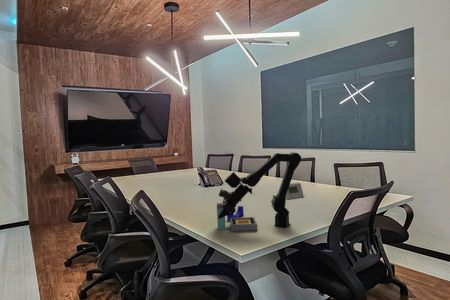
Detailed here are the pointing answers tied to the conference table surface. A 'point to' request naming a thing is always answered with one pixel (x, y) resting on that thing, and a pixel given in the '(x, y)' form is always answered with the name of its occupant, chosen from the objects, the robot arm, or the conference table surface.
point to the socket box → (243, 224)
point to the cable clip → (238, 213)
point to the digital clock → (294, 191)
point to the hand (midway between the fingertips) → (218, 216)
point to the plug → (222, 220)
